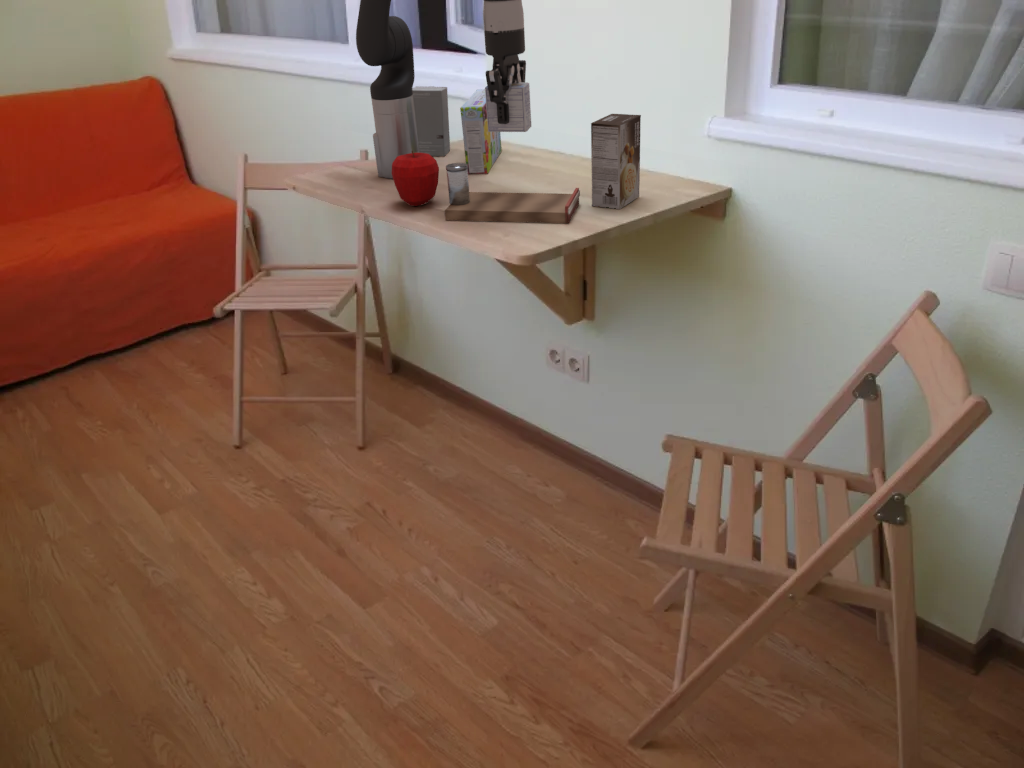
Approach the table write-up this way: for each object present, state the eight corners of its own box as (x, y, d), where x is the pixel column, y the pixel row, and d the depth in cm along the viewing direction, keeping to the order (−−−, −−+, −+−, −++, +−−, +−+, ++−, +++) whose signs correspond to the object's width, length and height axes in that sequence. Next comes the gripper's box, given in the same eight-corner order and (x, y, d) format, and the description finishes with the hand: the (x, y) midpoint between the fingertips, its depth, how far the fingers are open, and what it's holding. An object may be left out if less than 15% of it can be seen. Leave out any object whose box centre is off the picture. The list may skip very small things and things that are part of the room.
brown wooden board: (445, 220, 157) (444, 203, 156) (463, 201, 167) (462, 186, 166) (569, 223, 152) (569, 206, 150) (580, 203, 162) (579, 187, 160)
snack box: (480, 151, 204) (475, 88, 197) (502, 151, 203) (499, 88, 196) (464, 175, 186) (459, 106, 178) (489, 174, 185) (484, 105, 178)
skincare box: (413, 157, 203) (406, 90, 195) (420, 150, 209) (414, 85, 201) (446, 156, 201) (440, 89, 193) (453, 149, 207) (447, 84, 200)
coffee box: (611, 193, 167) (611, 112, 159) (640, 197, 164) (642, 114, 156) (590, 206, 160) (590, 122, 152) (620, 210, 157) (621, 124, 149)
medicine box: (532, 127, 162) (530, 81, 158) (526, 132, 159) (524, 86, 154) (494, 127, 164) (491, 82, 160) (487, 132, 161) (484, 86, 156)
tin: (446, 205, 159) (442, 168, 155) (452, 198, 163) (449, 162, 159) (467, 205, 158) (464, 168, 154) (473, 199, 162) (470, 162, 158)
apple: (429, 212, 162) (423, 157, 157) (386, 209, 165) (379, 155, 160) (449, 197, 170) (445, 145, 165) (408, 195, 173) (402, 143, 168)
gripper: (501, 22, 159) (506, 112, 168) (468, 31, 148) (476, 128, 156) (537, 21, 156) (540, 113, 165) (506, 31, 145) (511, 129, 153)
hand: (509, 120), depth 160 cm, fingers closed on medicine box, 4 cm apart
